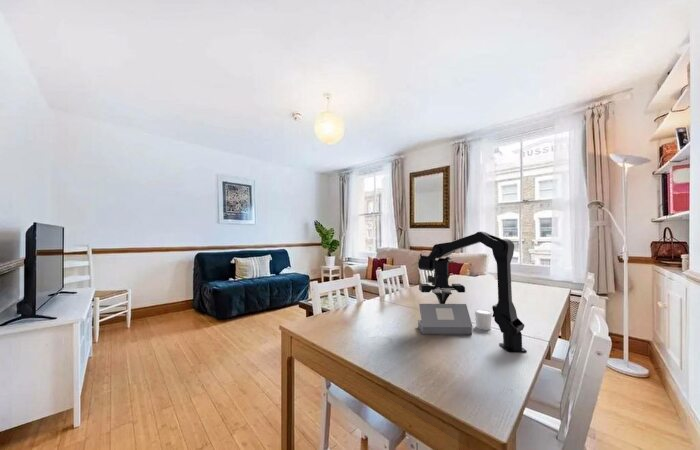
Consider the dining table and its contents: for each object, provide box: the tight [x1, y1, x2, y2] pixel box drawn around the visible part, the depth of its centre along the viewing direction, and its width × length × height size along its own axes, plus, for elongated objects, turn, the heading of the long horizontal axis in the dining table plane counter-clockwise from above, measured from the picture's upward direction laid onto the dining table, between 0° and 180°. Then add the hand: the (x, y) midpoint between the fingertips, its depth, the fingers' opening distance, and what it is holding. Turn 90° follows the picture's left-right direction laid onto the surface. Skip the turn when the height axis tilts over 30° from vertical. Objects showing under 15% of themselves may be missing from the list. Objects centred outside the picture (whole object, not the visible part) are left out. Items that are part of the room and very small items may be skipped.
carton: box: [417, 319, 473, 336], centre depth 115 cm, size 9×20×3 cm, turn 89°
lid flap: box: [418, 303, 473, 329], centre depth 113 cm, size 10×20×1 cm
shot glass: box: [474, 309, 493, 331], centre depth 119 cm, size 7×7×7 cm
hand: (441, 307), depth 118 cm, fingers closed, pressing on lid flap
